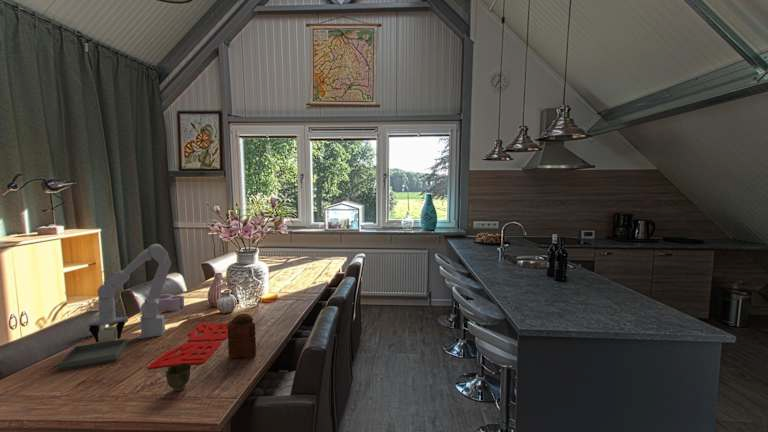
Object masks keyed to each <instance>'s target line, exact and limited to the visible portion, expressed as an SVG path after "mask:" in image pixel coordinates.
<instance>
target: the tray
mask: <svg viewBox="0 0 768 432" xmlns="http://www.w3.org/2000/svg"><path fill="white" fill-rule="evenodd" d="M127 346H128V338H123V339H122V338H120V339H118V340H114V341H108V342H101V343H99V342H94V343H87V344H84V345H83V344H82V345H76V346H74V347H73V348H72V349H71V350H69V352H68V353H67V354H65V356H63V358H62V359H61V360H59V361H58V362H57V372H62V371H67V370H73V369H80V368H85V367H91V366H96V365H97V366H98V365H101V364H102V365H103V364H107V363H108V364H109V363H113V362H114V363H115V362H117V361H118V360H119V358H120V357H121V355H122V354H123V352H124V351H125V350H126V348H127Z"/></svg>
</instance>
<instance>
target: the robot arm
mask: <svg viewBox="0 0 768 432" xmlns="http://www.w3.org/2000/svg"><path fill="white" fill-rule="evenodd" d="M152 259H154V260H155V261H156V262H157V263H158V267H157V269H156V272H155V274H154V278H153V281H152V284H151V286H150V289H149V292H148V294H147V297H146V298H145V299H146V300H145V299H144V302H143V303H142V304H141V305H140V311H141V314H142V315H141V316H140V335H139V336H138V339H139V340H140V339H146V338H147V339H148V338H154V337H159V336H163V335H164V333H165V330H166V327H165V326H166V324H165V315H164V314H160V313H159V312H158V304H159V297H160V295H162V291H163V289H164V285H165V282H166V279H167V277H168V274H169V271H170V268H171V265H172V261H171V258H170V256H169V253H168V251H167V250H166V249H165V248H164V246H162V245H161V244H159V243H153V244H151V245H149V246H148V248H145V249H144V250H142V251H141V252H140V253H139V254H138V255H137V256H136V257H135V258H134V259H133V260H132V261H131V262H130V263H129V264H128V265H127V266H126V267H125V268H123V269H121V270H117V271H114V272H113V273H112V276H111V277H110V278H108V280H107V281H106V280H105V281H103V284H101V285H100V286H99V287H98V289H97V296H98V303H97V304H98V312H99V320H97V321H88V322H87V323H86V324H85V325H86V326H85V327H86V328H87V329H88V331H89V332H90V333H91V335H92V336H93V337H94V340H95V343H99V342H98V332H99V327H100V325H113V324H116V325H115V326H116V328H117V339H118V340H121V339H122V338H121V337H122V332H123V329H124V327H125V325H126V323H128V322H129V316H125V317H123V316H121V317H117V316H116V315H117V314H116V299H115V298H114V297H115V296H114V295H115V292H116V291H117V290H118V289H120V288H121V287H122V286H123V285H125V284H126V282H127V281H129V280H130V278H131V277H130V276H131V274H132V273H133V272H134V271H135V270H136V269H138V268H139V267H140V266H142V264H144V263H145V262H147V261H148V262H149V261H152Z"/></svg>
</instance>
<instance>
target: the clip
mask: <svg viewBox="0 0 768 432" xmlns="http://www.w3.org/2000/svg"><path fill="white" fill-rule="evenodd" d="M145 300H146V298H144V301H145ZM181 308H182V309H184V308H185V296H184V295H179V294H178V295H173V294H171V293H165V294H161V295H160V297H159V304H158V313H160V312H167V311H170V312H174V311H175V312H176V311H180V310H181Z"/></svg>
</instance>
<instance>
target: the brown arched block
mask: <svg viewBox="0 0 768 432" xmlns="http://www.w3.org/2000/svg"><path fill="white" fill-rule="evenodd" d="M227 330H228V338H227V344H228V347H227V349H228V350H227V351H228V358H230V359H250V358H251V359H252V358H255V357H256V356H257V355H256V353H257V343H256V342H257V340H256V335H257V334H256V324H255V323H254V318H253V316H252V315H250V314H248V313H240V314H237V315H235V316H234V317H233V318H232V320H230V321H228V328H227Z"/></svg>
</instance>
